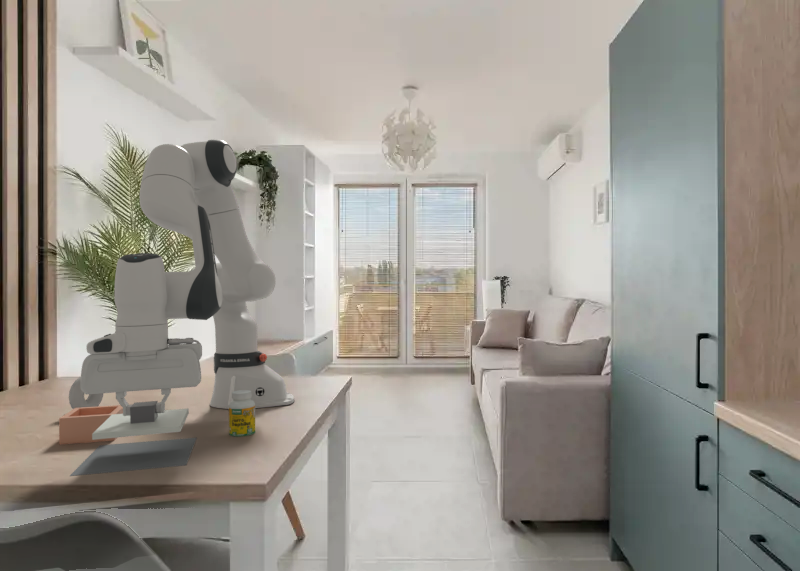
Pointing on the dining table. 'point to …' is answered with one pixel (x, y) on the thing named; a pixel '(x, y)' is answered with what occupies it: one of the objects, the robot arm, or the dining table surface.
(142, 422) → the box lid
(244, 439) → the dining table surface
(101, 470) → the mat
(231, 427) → the supplement bottle
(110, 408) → the orange open box
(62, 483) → the dining table surface
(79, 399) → the donut
